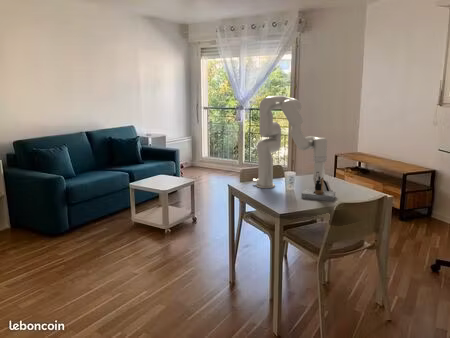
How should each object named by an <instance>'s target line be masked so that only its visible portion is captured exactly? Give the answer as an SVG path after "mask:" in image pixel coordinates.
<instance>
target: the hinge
mask: <svg viewBox="0 0 450 338" xmlns="http://www.w3.org/2000/svg"><path fill="white" fill-rule="evenodd" d="M315 178H316V177H315ZM315 178H313V177H312V179H313V184H314V185H315ZM323 191H331V192H334V191H333V189H332V188H331V187H330V184H329V182H328V180H327V179H326V178H325V177H324V179H323Z"/></svg>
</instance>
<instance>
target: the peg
mask: <svg viewBox="0 0 450 338" xmlns="http://www.w3.org/2000/svg"><path fill="white" fill-rule="evenodd" d="M319 178H320V177H319ZM324 178H325V177H324V176H323V178H322V179H321V190H315V189H314V190H315V194H323V179H324ZM319 181H320V180H319ZM315 187H316V178H315V184H314V188H315Z"/></svg>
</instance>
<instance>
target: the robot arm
mask: <svg viewBox="0 0 450 338" xmlns="http://www.w3.org/2000/svg"><path fill="white" fill-rule="evenodd" d="M302 107H303V105H302V103H301V101H300V100H298V99H296V98H293V97H289V96H284V95H269V96H267V97H264V98H263V99H262V100H260V102H259V107H258V109H259V110H258V111H259V135H260V137H263V138H265V139H261V140H259V141H258V142H257V144H256V150H257V151H256V152H257V158H258V161H257V162H258V166H257V167H258V170H257V171H258V178H257V179H256V178H253V179H252V182H253V183H256V184H255V186H256V188H260V189H272V188H275V187H276V186H275V185H276V184H275V183H274V182H273V181H274V180H273V179H274V178H273V177H274V174H273V172H274V160H273V156H272V153H275V152H278V151H279V150H280V148H281V145H282V144H281V143H282V141H281V140H282V128H281V127H282V126H280V123H278V122H277V121H274V115H273V112H272V111H273V110H281V111H282V113H283V114H284V116H285V118H286V120H287V122H288V123H289V125H290V128H291V129H290V133H291V134H290V135H291V138H292V140H293V142H294V143H295V145H296V147H297V148H298V149H299V150H301V151H308V150H312V149H313V153H312V154H313V159H312V161H313V162H314V163H313V173H312V174H313V175H312V179H313V178H315V177H316V187H315V186H314V190H321V179H322V178H323V177H324V176H325V172H326V169H325V166H326V165H325V164H326V162H328V161H327V156H328V153H327V152H328V139H327V138H326V137H319V136H313V135H309V136H305V135H304V133H303V132H302V124H303V123H304V121H305V119H304V117H303V115H302V114H301V112H300V111H301V110H302V109H303V108H302ZM319 177H320V178H319ZM319 180H320V181H319Z"/></svg>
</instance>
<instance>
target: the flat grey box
mask: <svg viewBox="0 0 450 338" xmlns="http://www.w3.org/2000/svg"><path fill="white" fill-rule="evenodd" d="M335 198H336V191H333V192H331V191H323V194H315V189H309V188H305V189H304V190H303V191H302V192H301V199H307V200H317V201H325V202H334V200H335Z"/></svg>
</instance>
